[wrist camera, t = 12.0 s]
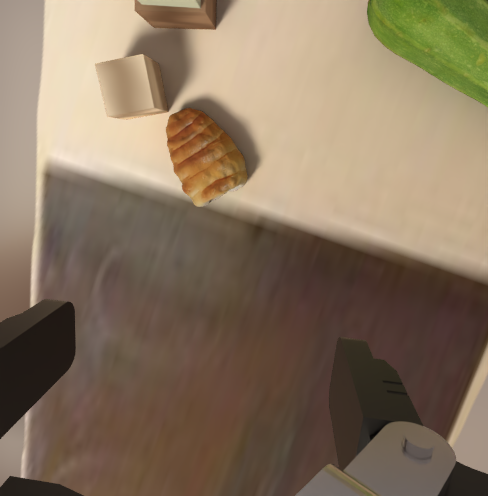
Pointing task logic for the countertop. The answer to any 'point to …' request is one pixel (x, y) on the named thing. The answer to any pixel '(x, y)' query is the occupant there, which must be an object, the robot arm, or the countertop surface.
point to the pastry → (203, 156)
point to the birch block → (131, 87)
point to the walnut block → (179, 15)
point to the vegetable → (438, 39)
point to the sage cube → (173, 3)
